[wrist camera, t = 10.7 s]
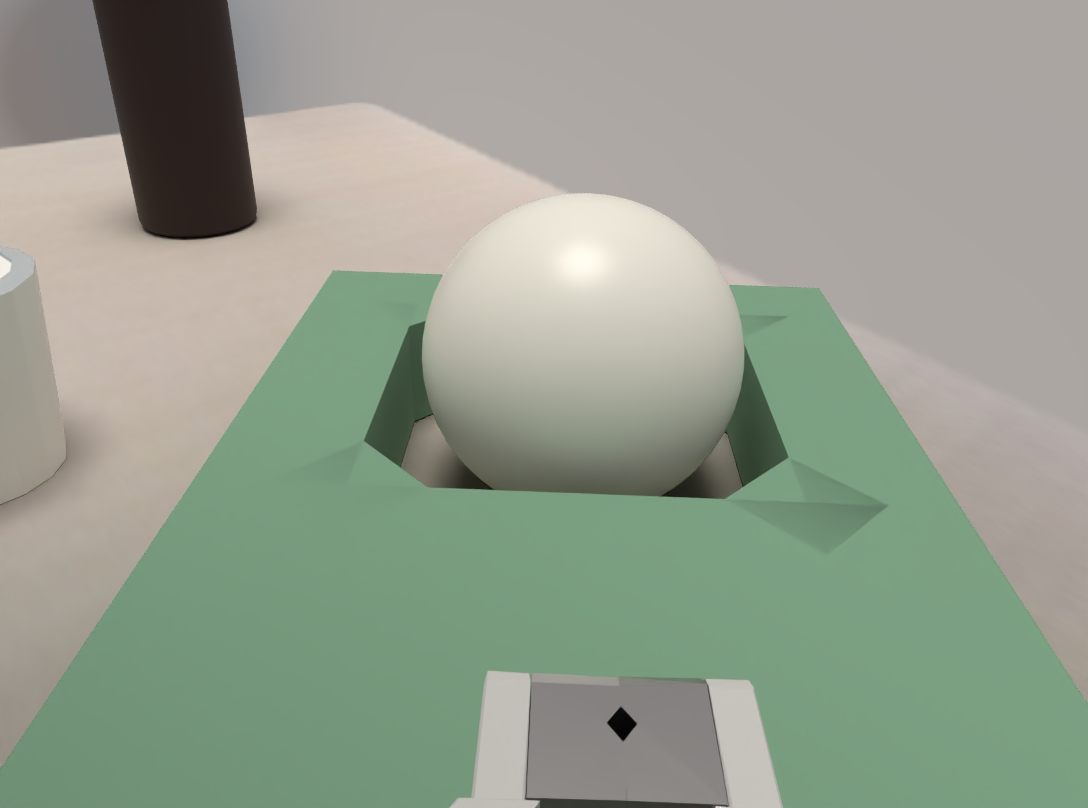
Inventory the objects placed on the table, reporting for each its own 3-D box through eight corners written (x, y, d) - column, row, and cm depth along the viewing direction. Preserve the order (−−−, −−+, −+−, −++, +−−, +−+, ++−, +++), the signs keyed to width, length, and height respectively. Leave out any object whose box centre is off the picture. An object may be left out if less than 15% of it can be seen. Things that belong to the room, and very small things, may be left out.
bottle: (251, 200, 57) (198, -162, 47) (265, 232, 51) (209, -169, 42) (139, 210, 54) (59, -169, 44) (142, 245, 49) (51, -178, 39)
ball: (600, 184, 33) (591, 436, 35) (357, 188, 27) (370, 490, 29) (829, 198, 25) (796, 516, 28) (563, 207, 19) (554, 611, 22)
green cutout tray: (1458, 1715, 10) (1709, 1665, 8) (-310, 1614, 10) (-515, 1540, 8) (801, 374, 37) (818, 288, 35) (342, 357, 38) (333, 270, 36)
